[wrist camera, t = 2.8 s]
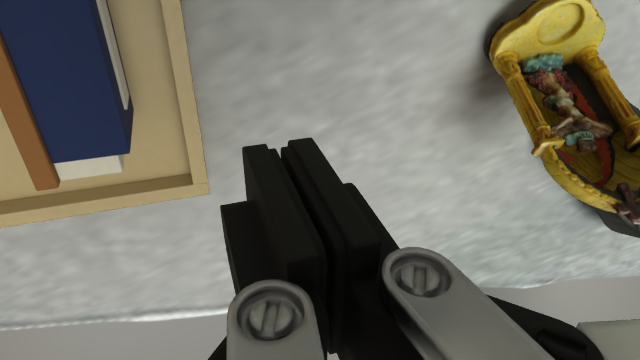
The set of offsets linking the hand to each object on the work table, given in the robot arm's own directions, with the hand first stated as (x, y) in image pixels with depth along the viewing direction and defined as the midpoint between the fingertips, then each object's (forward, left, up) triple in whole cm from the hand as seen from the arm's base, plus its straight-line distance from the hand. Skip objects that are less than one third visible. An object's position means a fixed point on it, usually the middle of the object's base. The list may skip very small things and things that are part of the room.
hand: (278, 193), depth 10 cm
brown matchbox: (0, -7, -18) cm, 19 cm away
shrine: (+4, +24, -19) cm, 30 cm away
